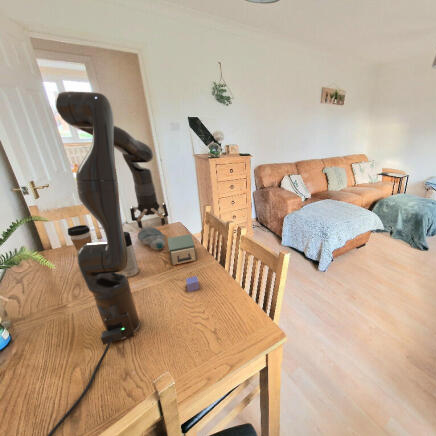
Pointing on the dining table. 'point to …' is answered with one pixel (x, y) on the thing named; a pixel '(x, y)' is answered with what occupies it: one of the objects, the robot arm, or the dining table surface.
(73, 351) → the dining table surface
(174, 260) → the drawer
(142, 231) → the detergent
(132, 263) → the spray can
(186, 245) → the cabinet
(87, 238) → the coffee cup
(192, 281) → the purple cube
